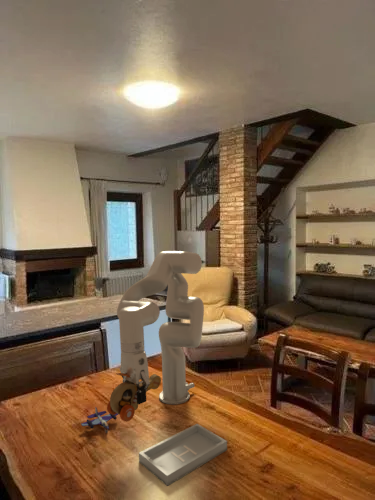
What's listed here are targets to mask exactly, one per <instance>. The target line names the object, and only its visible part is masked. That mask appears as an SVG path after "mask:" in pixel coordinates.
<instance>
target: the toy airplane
mask: <svg viewBox="0 0 375 500" xmlns="http://www.w3.org/2000/svg"><path fill="white" fill-rule="evenodd" d="M94 409H95V411H94V412H95V413H93V414H89V415H88V416H87V419H86V421H85V422H82V423H81V426H82V427H87V426H88V427H90V429H93V428H94V426H97V425H100V426H101V427H102V428H104V429H105V434H108V431H110V428H109V424H108V421H110V420H112V419H113V420H115V421H116V420H117V416H119V414H115V415H112V414H110V413H109V412H108V411H107V410H104V411H103V410H102V411H99V410H98V407H96V406H95V407H94ZM107 413H108V414H107ZM92 418H93V419H92ZM94 418H95V419H94ZM90 419H91V420H90ZM106 429H107V430H106Z"/></svg>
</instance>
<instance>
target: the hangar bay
mask: <svg viewBox="0 0 375 500" xmlns="http://www.w3.org/2000/svg"><path fill="white" fill-rule="evenodd" d="M227 450H228V440H226V439H224V438H223V437H220V436H219V435H217V434H215V433H214V432H212V431H211V430H209V429H207V428H206V427H204V426H202V425H200V424H199V423H195V424H194V425H192V426H190V427H187V428H186V429H184V430H182V431H180V432H178V433H175V434H173V435H172V436H169V437H168V438H166V439H162V441H160V442H159V441H158V443H155V444H154V445H152V446H150V447H148V448H146V449H144V450H142V451H139V452H138V463H139V464H141V466H143V467H144V468H146V469H147V470H148V471H149V472H150V473H151V474H152V475H154V476H155V477H156V478H157V479H159V481H160V482H162V483H163V484H164V485H166V487H168V486H170V485H172V484H173V483H175V482H176V481H178V480H180V479H182V478H183V477H185V476H187V475H188V474H190V473H191V472H193V471H195V470H196V469H198V468H199V467H201V466H203V465H204V464H206V463H208V462H209V461H211V460H213V459H215V458H216V457H218V456H220V455H221V454H223V453H224V452H226V451H227Z"/></svg>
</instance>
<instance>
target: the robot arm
mask: <svg viewBox="0 0 375 500" xmlns="http://www.w3.org/2000/svg"><path fill="white" fill-rule="evenodd" d="M202 265H203V261H202V258H201V256H200V254H198V253H197V252H190V251H186V250H185V251H184V250H183V251H181V250H179V251H178V250H165V251H164V250H163V251H160V252H158V253H157V254H156V256H155V258H154V259H153V262H152V264H151V265H150V267H149V270H148V272H147V274H146V276H145V277H143V278H141V279H140V280H138V281H137V282H135V283H133V284H132V285H130V286H129V287H128V288H127V289H126V291H125V292H124V293H123V296H122V297H121V299H120V301H119V303H118V306H117V310H116V315H117V318H118V320H119V321H118V323H119V324H118V325H119V339H120V340H119V342H120V367H119V373H124V374H127V375H128V376H130V378H131V380H132V382H133V383H135V384H136V387H137V390H138V392H137V404H138V405H141V404H144V403H146V402H147V392H146V390H147V388H148V386H149V384H150V382H149V378H150V374H149V364H148V357H147V353H146V350H145V333H144V329H145V328H144V327H147V326H150V325H152V324H154V323H156V322H157V320H158V319H159V317H160V314H161V313H160V312H161V311H160V307H159V305H158V304H157V303H155V302H152V301H146V300H145V301H144V300H143V301H142V299H144V298H146V297H150V296H152V295H156V294H158V293H161V292H164V291H165V290H167V293H166V302H165V315H166V316H167V317H168V318H169V319H175V320H185V321H186V320H187V321H189V323H188V322H177V321H167V322H163V323H162V324H161V325H160V327H159V328H158V338H159V343H160V348H161V370H162V372H161V373H162V378H161V382H162V391H161V392H160V393H158V394H159V395H158V397H159V401H160V402H162V403H163V404H165V405H166V404H167V405H180V404H183V403H186V402H188V401H189V400H190V395H191V393H189V390H190V389H193V388H195V383H194V382H190V383H188V382H187V381H186V379H187V378H186V354H185V351H184V350H183V348H189V349H191V348H192V349H196V348H198V347H199V346H200V345H201V342H202V338H203V337H202V336H203V327H204V315H205V313H204V312H205V306H204V301H203V300H202V299H201V298H200V297H198V296H189V295H188V291H189V284H188V281H187V279H186V278H185V276H184V275H183V274H185V275H186V274H189V275H197V274H198V273H199V272H200V271H201V269H202ZM121 378H122V383H123V382H129V381H128V380H126V379H125V378H126V376H121ZM140 383H142V385H143V386H141V388H140V385H139V384H140Z"/></svg>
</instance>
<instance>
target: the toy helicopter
mask: <svg viewBox="0 0 375 500" xmlns="http://www.w3.org/2000/svg"><path fill="white" fill-rule="evenodd" d="M115 374H116V375H117V376H121V377H122V376H126V378H125V379H126V380H128V381H129V382H123V381H122V382H121V383H120V384H118V385H117V386H115V388H114V389H113V390H112V392H111V394H110V399H109V401H108V403H107V406H106V412H107V413H108V414H109V413H110V414H112V415H115V414H118V416H119V417H120V419H121V421H123V422H130V421H131V420H132V419H133V418H134V416H135V413H136V412H135V411H136V410H138V407H139V404H137V392H138V390H137V387H136V384H135V383H133V382H132V380H131V378H130V376H128V375H127V374H124V373H121V372H115ZM149 382H150V384H149V386H148V388H147V390H146V393H147V392H148V391H150V390H157V389H158V388H159V387H160V386H161V383H162V378H161V375H158V374H155V373H154V374H151V375H149ZM139 385H140V388H141V386H143V385H142V383H140V384H139Z"/></svg>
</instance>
